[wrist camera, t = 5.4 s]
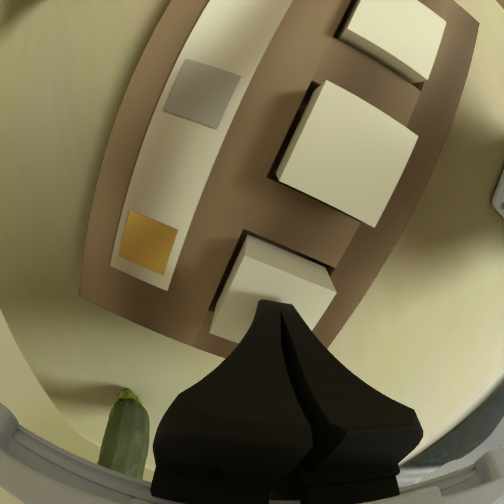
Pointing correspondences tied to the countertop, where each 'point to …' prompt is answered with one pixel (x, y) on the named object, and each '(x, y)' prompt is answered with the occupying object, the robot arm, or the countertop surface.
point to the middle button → (346, 153)
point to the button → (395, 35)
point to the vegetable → (126, 437)
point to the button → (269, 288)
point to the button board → (248, 159)
